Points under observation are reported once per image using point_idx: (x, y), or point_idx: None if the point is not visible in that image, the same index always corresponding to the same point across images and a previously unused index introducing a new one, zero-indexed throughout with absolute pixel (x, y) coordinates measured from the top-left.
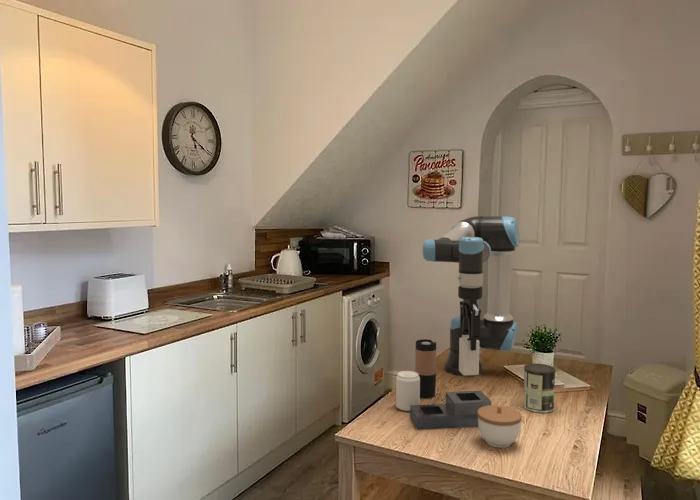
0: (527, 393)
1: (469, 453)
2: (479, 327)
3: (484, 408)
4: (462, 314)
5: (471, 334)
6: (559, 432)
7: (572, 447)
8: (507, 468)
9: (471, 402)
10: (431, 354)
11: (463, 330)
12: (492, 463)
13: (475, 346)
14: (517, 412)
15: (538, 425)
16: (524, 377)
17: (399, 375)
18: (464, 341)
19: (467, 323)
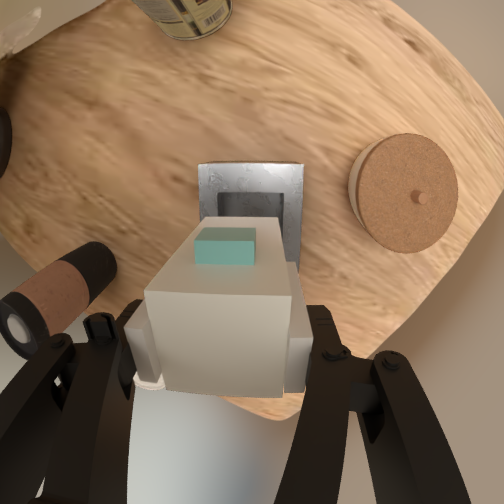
0: (192, 20)
1: (407, 262)
2: (446, 446)
3: (382, 225)
4: (32, 485)
5: (373, 433)
6: (347, 28)
7: (415, 51)
8: (463, 218)
9: (300, 231)
10: (50, 311)
11: (131, 403)
12: (445, 235)
13: (333, 326)
14: (422, 143)
15: (305, 48)
16: (156, 7)
17: (155, 389)
18: (271, 394)
19: (115, 444)
